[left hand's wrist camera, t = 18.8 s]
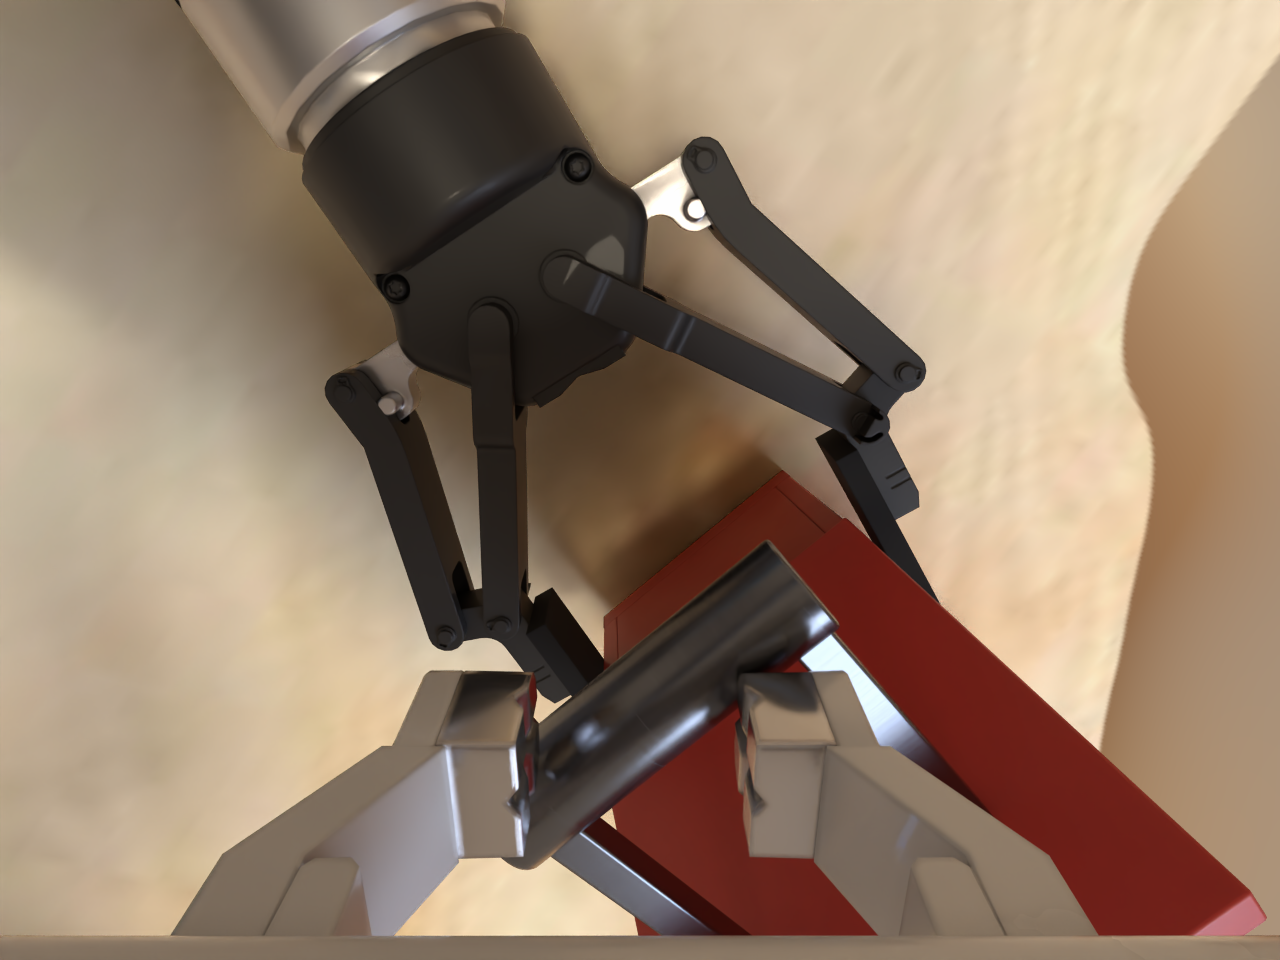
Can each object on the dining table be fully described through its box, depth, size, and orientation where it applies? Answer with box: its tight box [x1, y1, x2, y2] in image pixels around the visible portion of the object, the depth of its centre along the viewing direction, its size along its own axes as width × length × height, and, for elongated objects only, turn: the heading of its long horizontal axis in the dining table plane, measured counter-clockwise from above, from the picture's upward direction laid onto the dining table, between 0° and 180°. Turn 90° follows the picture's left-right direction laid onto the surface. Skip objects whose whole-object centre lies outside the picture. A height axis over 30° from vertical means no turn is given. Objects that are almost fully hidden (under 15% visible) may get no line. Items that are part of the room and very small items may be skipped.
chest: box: [604, 470, 842, 670], centre depth 29 cm, size 13×10×9 cm
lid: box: [501, 518, 1267, 936], centre depth 16 cm, size 13×10×8 cm
